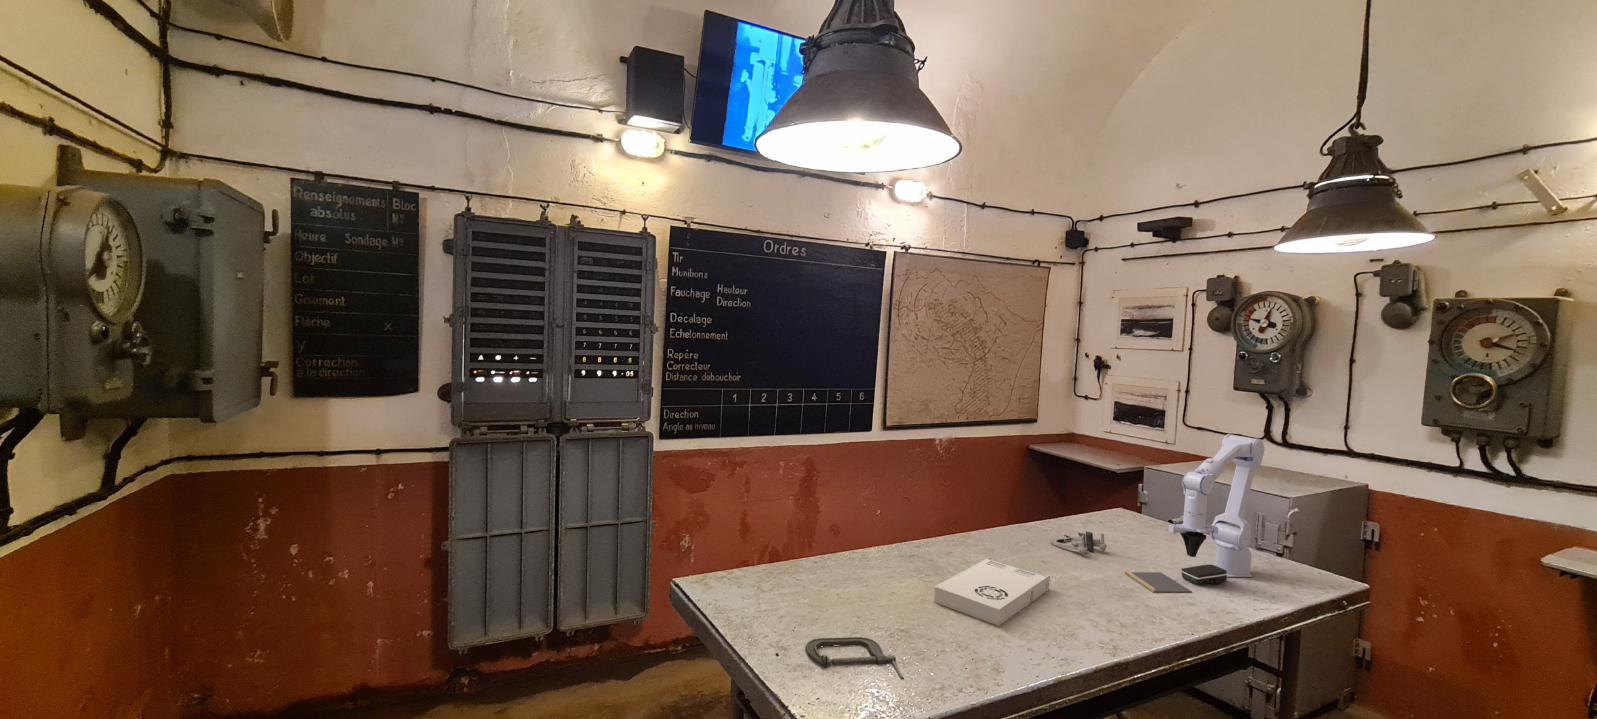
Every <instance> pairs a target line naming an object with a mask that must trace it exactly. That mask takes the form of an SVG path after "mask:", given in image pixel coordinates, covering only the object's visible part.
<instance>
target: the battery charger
mask: <svg viewBox="0 0 1597 719" xmlns="http://www.w3.org/2000/svg"><path fill="white" fill-rule="evenodd" d="M1180 572H1181V577H1182V579H1183V580H1185V581H1187V582H1190V583H1192V584H1194V585H1200V584H1201V583H1203V582H1208V583H1210V584H1212V585H1218V584H1223V583H1225V582H1227V579H1228V577H1227V571H1226V570H1224V569H1222V568H1220V567H1217V566H1215V565H1214V564H1202V565H1195V566H1190V567H1182V568H1181V571H1180Z"/></svg>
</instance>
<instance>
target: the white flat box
mask: <svg viewBox="0 0 1597 719" xmlns="http://www.w3.org/2000/svg"><path fill="white" fill-rule="evenodd" d="M1050 580H1051V575H1050V574H1048V575H1046V576H1044V575H1041V574H1038V573H1035V572H1034V573H1033V572H1031V571H1028V570H1024V569H1022V568H1018V567H1014V566H1011V565H1008V564H1005V563H1002V562H998V561H995V560H992V558H991V557H990V556H989V557H986V558H984V559H982V560H981V561H980V562H977V563H976V564H973V565H972V566H970V567H968V568H967V569H964V570H962V571H960V572H959V573H957V574H955V575H952V577H949V578H948V579H945V580H944V581H941V583H938V584H937V585H935V586H934V595H933V597H934V598H933V602H934V603H936V604H938V605H940V606H943V607H946V608H949V609H951V608H952V610H955V611H957V612H959V613H963V614H964V615H968V616H969V617H973V618H974V619H975V618H976V619H978V620H981V621H983V620H984V622H986V623H990V624H992V625H994V626H997V627H999V626H1000V625H1002V624H1004V623H1005V622H1006V621H1008V620H1009V619H1010V618H1012V617H1013V616H1014V615H1016V614H1017V613H1019V612H1020V611H1022V610H1023V609H1024V608H1027V607H1028V605H1030V604H1031V603H1033V602H1034V601H1036V600H1037V599H1039V598H1040V597H1041V596H1042V595H1044V594H1045V593H1047V592H1048V591H1049V590H1050ZM1046 591H1047V592H1046ZM1043 593H1044V594H1043Z"/></svg>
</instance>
